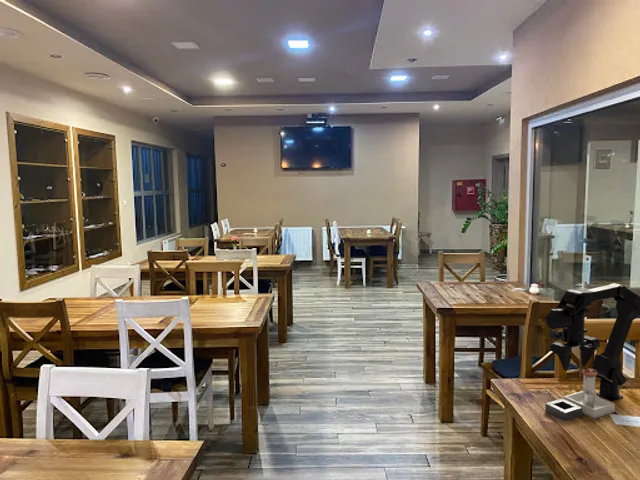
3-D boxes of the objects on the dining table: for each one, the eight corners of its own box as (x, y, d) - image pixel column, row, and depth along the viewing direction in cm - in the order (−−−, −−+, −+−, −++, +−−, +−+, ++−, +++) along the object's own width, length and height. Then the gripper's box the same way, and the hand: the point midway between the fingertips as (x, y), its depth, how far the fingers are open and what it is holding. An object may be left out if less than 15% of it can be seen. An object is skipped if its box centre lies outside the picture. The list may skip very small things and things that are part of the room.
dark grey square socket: (561, 406, 168) (562, 398, 168) (582, 416, 161) (582, 407, 161) (545, 411, 165) (545, 403, 165) (565, 421, 158) (565, 412, 158)
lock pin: (585, 402, 170) (586, 367, 168) (598, 407, 166) (600, 371, 164) (578, 405, 167) (579, 370, 166) (591, 410, 163) (592, 374, 162)
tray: (583, 398, 174) (583, 390, 174) (614, 412, 163) (614, 403, 163) (563, 404, 170) (563, 396, 170) (594, 418, 159) (594, 410, 159)
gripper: (573, 316, 179) (573, 356, 180) (537, 324, 171) (536, 365, 173) (601, 324, 168) (600, 366, 170) (563, 332, 161) (563, 376, 163)
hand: (574, 368), depth 169 cm, fingers open, 9 cm apart
